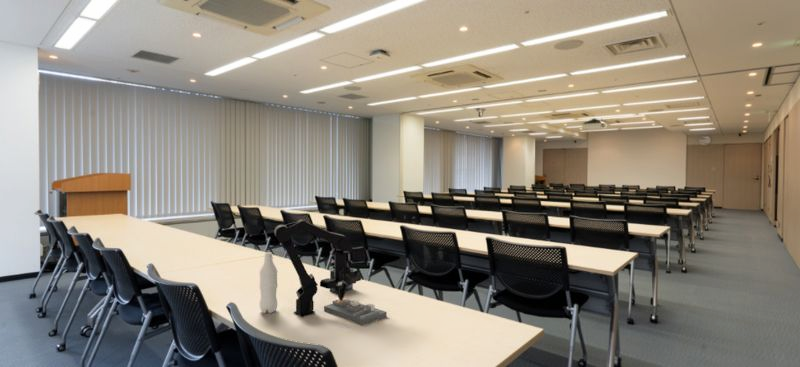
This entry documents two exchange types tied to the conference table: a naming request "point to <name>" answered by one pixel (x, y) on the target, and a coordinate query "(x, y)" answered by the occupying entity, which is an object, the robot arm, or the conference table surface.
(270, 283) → the water bottle
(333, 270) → the small box
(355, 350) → the conference table surface
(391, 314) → the conference table surface
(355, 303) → the white button
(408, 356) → the conference table surface
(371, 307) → the block
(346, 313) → the control panel
